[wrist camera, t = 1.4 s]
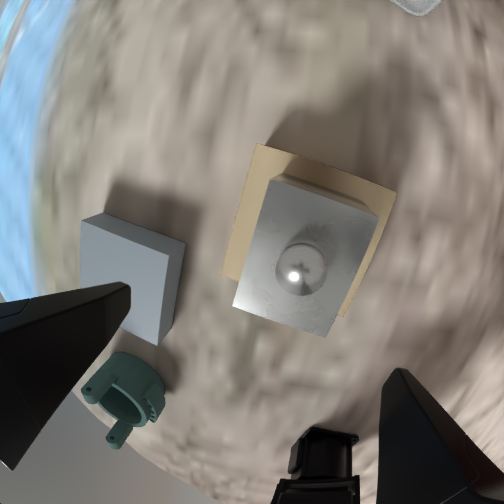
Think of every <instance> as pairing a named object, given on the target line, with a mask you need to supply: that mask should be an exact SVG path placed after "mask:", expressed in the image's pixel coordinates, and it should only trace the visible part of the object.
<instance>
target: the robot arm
mask: <svg viewBox="0 0 504 504" xmlns="http://www.w3.org/2000/svg"><path fill="white" fill-rule="evenodd" d="M130 308H131V287H130V285H128V284H126V283H123V282H121V281H118V282H113V283H108V284H102V285H97V286H92V287H87V288H81V289H76V290H71V291H66V292H60V293H55V294H50V295H44V296H39V297H34V298H31V299H29V298H28V299H23V300H17V301H11V302H5V303H0V461H1V462H2V463H3V464H4V465H5V466H6V467H8V468H9V469H10V470H11V471H13V470H14V469H15V468H16V466H17V465H18V463H19V461H20V460H21V458H22V457H23V456H24V454H25V453H26V451H27V450H28V448H29V447H30V445H31V444H32V443H33V441H34V440H35V438H36V437H37V436H38V434H39V432H40V431H41V429H42V428H43V427H44V426H45V424H46V423H47V421H48V420H49V419H50V417H51V416H52V415H53V413H54V412H55V411H56V409H57V408H58V407H59V405H60V404H61V403H62V401H63V400H64V399H65V397H66V396H67V395H68V394H69V392H70V391H71V390H72V388H73V387H74V386H75V385H76V383H77V382H78V381H79V379H80V378H81V377H82V376H83V374H84V373H85V372H86V371H87V369H88V368H89V367H90V366H91V364H92V363H93V362H94V361H95V359H96V358H97V357H98V356H99V354H100V353H101V352H102V351H103V350H104V348H105V347H106V346H107V345H108V343H109V342H110V340H111V339H112V337H113V336H114V334H115V333H116V331H117V330H118V328H119V327H120V325H121V324H122V322H123V321H124V319H125V318H126V316H127V315H128V313H129V311H130ZM358 441H359V437H358V436H355V435H349V434H344V433H338V432H333V431H328V430H323V429H319V428H314V427H312V428H309V429H308V431H307V432H306V433H305V434H304V435H303V437H301V438H299V439H298V440H297V442H296V443H295V444H294V445H293V446H292V449H291V455H290V461H289V466H288V473H289V474H292V475H291V479H280V482H279V484H277V488H276V490H275V493H274V496H273V499H272V501H271V503H270V504H360V477H359V475H355V476H352V446H353V445H355V444H356V443H357V442H358ZM0 504H1V503H0ZM376 504H504V473H503V472H502V471H501V470H500V469H499V468H498V467H497V466H496V465H495V464H494V463H493V462H492V461H491V460H490V459H489V458H488V457H487V456H486V455H485V454H484V453H483V452H482V451H481V450H480V449H479V448H478V447H477V446H476V444H475V443H474V442H473V441H472V440H471V439H470V438H469V436H468V435H466V433H465V432H464V431H463V430H462V429H461V428H460V426H459V425H458V424H457V423H456V422H455V421H454V420H453V419H452V417H451V416H450V415H449V414H448V413H447V412H446V411H445V410H444V409H443V407H442V406H441V405H440V404H439V403H438V402H437V401H436V400H435V399H434V398H433V397H432V395H431V394H430V393H429V392H428V391H427V390H426V389H425V388H424V387H423V386H422V385H421V384H420V382H419V381H418V380H417V379H416V378H415V377H414V376H413V375H412V374H411V373H410V372H409V371H408V370H407V369H403V368H396V369H394V370H393V372H392V373H391V375H390V376H389V378H388V379H387V380H386V382H385V383H384V385H383V387H382V393H381V408H380V420H379V462H378V485H377V499H376Z"/></svg>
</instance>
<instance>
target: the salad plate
mask: <svg viewBox="0 0 504 504" xmlns="http://www.w3.org/2000/svg"><path fill="white" fill-rule="evenodd" d="M389 1H391V2H392V3H393V4H395V5H396V6H397V7H399V8H400V9H402V10H403V11H405V12H407V13H409V14H412V15H414V16H424V15H427V14H428V13H429V12H431V11H432V10H433V9H434V8H435V7H436V6H438V5H439V4H440V3H441V2H442V1H443V0H389Z"/></svg>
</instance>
